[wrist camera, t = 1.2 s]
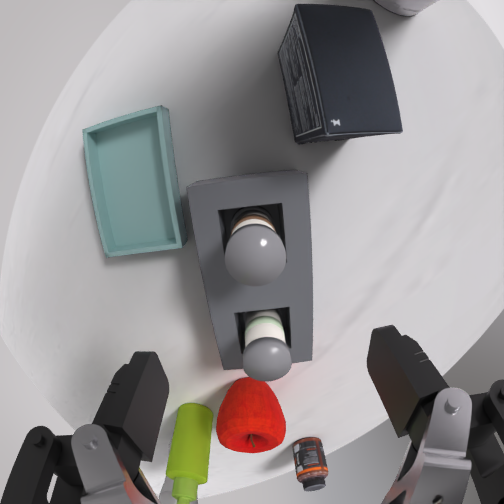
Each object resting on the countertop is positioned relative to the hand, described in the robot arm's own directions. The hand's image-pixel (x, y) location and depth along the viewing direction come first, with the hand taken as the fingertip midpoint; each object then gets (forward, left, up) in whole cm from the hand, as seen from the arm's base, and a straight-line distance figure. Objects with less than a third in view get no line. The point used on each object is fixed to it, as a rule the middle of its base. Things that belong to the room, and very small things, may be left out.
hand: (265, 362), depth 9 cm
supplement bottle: (+45, +6, -20) cm, 50 cm away
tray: (-6, -12, -20) cm, 24 cm away
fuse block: (+5, 0, -20) cm, 21 cm away
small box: (-13, +8, -20) cm, 25 cm away
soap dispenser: (+30, -13, -20) cm, 38 cm away
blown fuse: (0, 0, -19) cm, 19 cm away
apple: (+24, -3, -20) cm, 32 cm away
